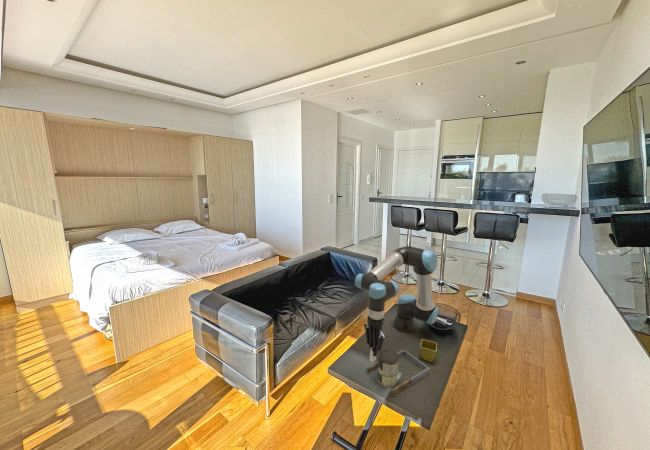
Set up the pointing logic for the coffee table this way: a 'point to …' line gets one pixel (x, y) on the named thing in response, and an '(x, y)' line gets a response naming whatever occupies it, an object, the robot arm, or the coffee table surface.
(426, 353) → the flower pot
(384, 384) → the coffee can
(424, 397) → the coffee table surface
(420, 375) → the grey piece
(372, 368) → the slot rails
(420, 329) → the coffee table surface
